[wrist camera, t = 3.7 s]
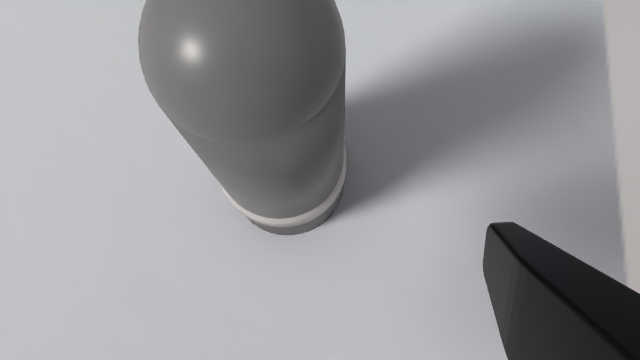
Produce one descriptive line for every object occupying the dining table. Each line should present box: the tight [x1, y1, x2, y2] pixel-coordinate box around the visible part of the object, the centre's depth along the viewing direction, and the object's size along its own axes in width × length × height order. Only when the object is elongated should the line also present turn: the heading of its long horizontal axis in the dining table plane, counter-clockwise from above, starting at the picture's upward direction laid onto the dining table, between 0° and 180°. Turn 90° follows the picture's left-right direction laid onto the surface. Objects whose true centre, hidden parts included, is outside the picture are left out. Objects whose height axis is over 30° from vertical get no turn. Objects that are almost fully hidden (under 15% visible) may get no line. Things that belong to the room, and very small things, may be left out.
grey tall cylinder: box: [138, 0, 347, 235], centre depth 15 cm, size 5×5×12 cm
